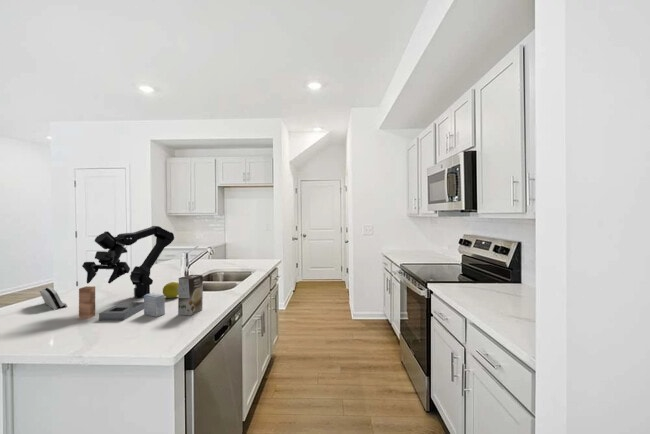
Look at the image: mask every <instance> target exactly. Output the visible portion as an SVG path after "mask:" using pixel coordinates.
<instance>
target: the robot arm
mask: <svg viewBox="0 0 650 434" xmlns="http://www.w3.org/2000/svg"><path fill="white" fill-rule="evenodd" d="M149 236H154V237H155V244H154V246H153V247H152V249H151V250H150V252H149V253H148V254H147V256H146V258H145V259H144V261H143V262H142V263H141V265H140V266H137V265H136V266H134V267H133V269H132V271H131V267H130V266H129V264H128V263H127V261H121V260H120V258H121V256H122V254H126V253H128V250H127V249H126V248H127V247H125V246H131V245H133V244H135V243H137V242H138V241H139V240H142V239H144V238H147V237H149ZM174 240H175V235H174V233H173V232H171V231H169V230H167V229H164V228H162V227H161V226H159V225H152V226H150V227H146V228H144V229H139V230H138V231H137V230H136V231H134V232H125V233H119V234H117V235H116V236H114V235H112V234H111V232H109V231H104V232H102V233H101V234H98V235H97V236H96V237H95V238H94V243H96V244H97V245H99V246H100V247H101V248H102V249H103V250H107V251H103V250H102V251H101V250H100V251H99V250H98V251H96V252H95V256H94V259H95V260H98V263H99V264H96V263H95V261H84V262H83V264H82V265H81V267H82V268H83V269H84V270H85V272H86V273H87V275H86V284H90V282H92V281H93V279H94V278H95V277H96V276H97V273H98V271H99V270H106V271H107V270H108V271H109V270H113V271H112V273H111V275H110V276H109V278H108V280H107V283H108V284H111V283H113V282H114V281H116V280H117V279H119V278H120V277H122V276H124V275H126V274H129V273H130V275H129V277H130V279H129V280H130V281H131V282H132V285H134V288H133V296H134V297H135V298H136V299H141V298H144V295H147V294H150V291H151V290H150V289H151V285H153V283H154V281H153V279H152V278H151V269H152V267H154V264H156V262H157V260H158V258H159V257H160V255H161V254H162V252H163V250H164V249H165V248H166V247H168V246H169V245H171V244H172V243H173V241H174Z"/></svg>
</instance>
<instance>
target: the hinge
mask: <svg viewBox="0 0 650 434" xmlns="http://www.w3.org/2000/svg"><path fill="white" fill-rule="evenodd" d="M39 293H40V296H41V297H42V300H43V301H44V304H46V305H47V306H48V307H50V308H51V309H52V310H54V309H55V310H58V308H59V307H60V308H62V307H65V308H68V304H67V303H65V302H64V301H62V300H61V298H60V296H59V294H58V292H57V291H56V290H55V289H54V288H53V287H51V286H48V287H47V286H46V288H43V289H40V290H39Z"/></svg>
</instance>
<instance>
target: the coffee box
mask: <svg viewBox="0 0 650 434" xmlns="http://www.w3.org/2000/svg"><path fill="white" fill-rule="evenodd" d="M203 277H204V275H202V274H188V275H185V276H181V277H178V283H179V287H178V296H177V300H178V301H177V302H178V303H177V305H178V306H177V314H178V315H180V316H192V315H194V314H197V313H199V312H200V310H201V311H203V290H204V289H203V288H204V287H203V285H204V284H203V280H204V278H203Z"/></svg>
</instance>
